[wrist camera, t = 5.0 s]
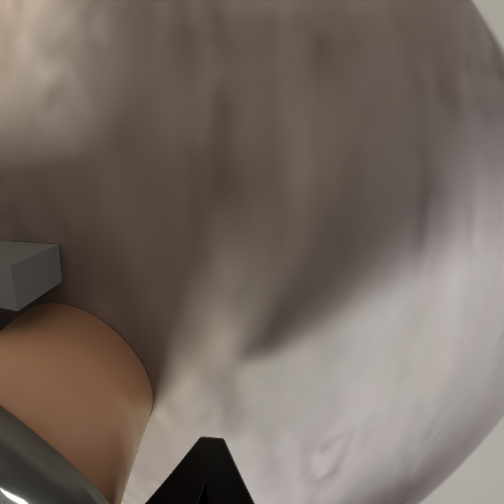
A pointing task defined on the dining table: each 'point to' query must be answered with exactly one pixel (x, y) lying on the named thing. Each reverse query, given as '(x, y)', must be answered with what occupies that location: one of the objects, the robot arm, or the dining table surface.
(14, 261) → the lane
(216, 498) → the robot arm
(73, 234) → the dining table surface
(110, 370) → the jar terracotta
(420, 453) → the dining table surface
